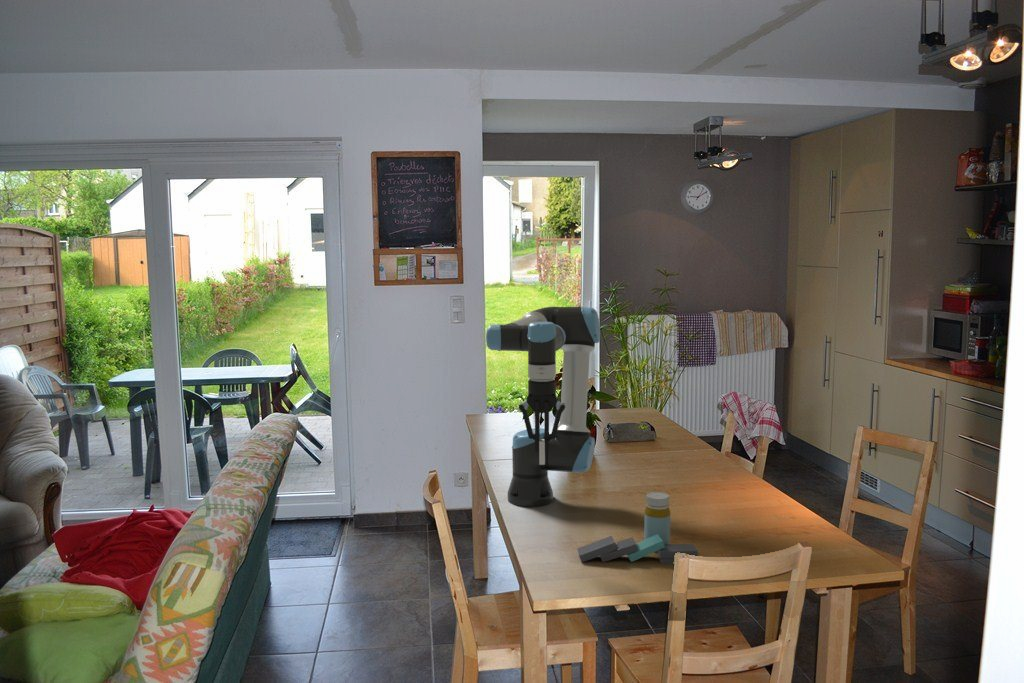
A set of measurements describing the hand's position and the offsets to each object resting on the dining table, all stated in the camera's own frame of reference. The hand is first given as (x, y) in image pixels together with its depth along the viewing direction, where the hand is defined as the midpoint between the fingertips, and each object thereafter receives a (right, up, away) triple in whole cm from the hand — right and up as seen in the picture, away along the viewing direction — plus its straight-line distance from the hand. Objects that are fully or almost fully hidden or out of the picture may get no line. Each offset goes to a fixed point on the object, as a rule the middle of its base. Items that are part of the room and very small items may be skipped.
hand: (542, 463), depth 211 cm
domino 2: (+15, -24, -4) cm, 29 cm away
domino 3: (+23, -24, -5) cm, 34 cm away
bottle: (+32, -24, +3) cm, 40 cm away
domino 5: (+31, -23, -5) cm, 39 cm away
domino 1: (+10, -24, -4) cm, 27 cm away
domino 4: (+31, -25, -6) cm, 40 cm away
